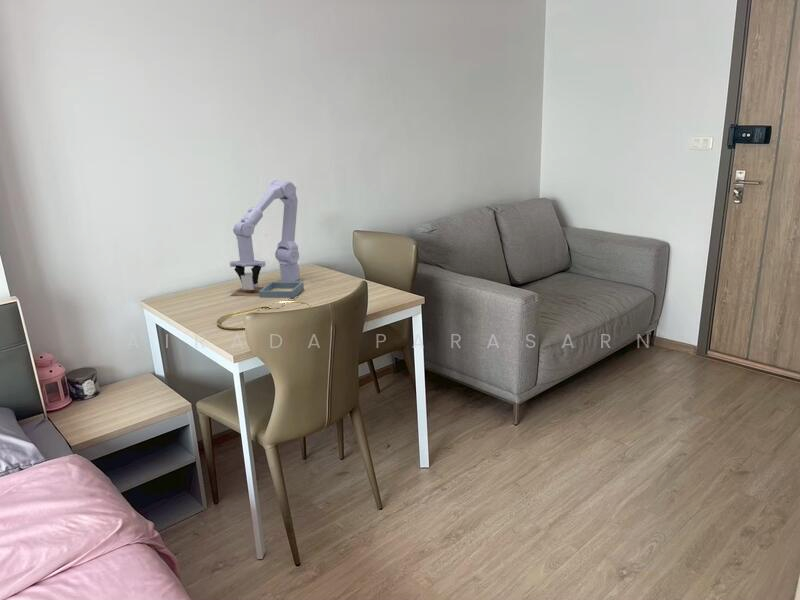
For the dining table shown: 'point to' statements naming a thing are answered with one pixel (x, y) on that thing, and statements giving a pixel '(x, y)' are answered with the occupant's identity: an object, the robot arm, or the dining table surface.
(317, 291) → the dining table surface
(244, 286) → the metal block
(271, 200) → the robot arm
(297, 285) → the bin
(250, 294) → the stud base
